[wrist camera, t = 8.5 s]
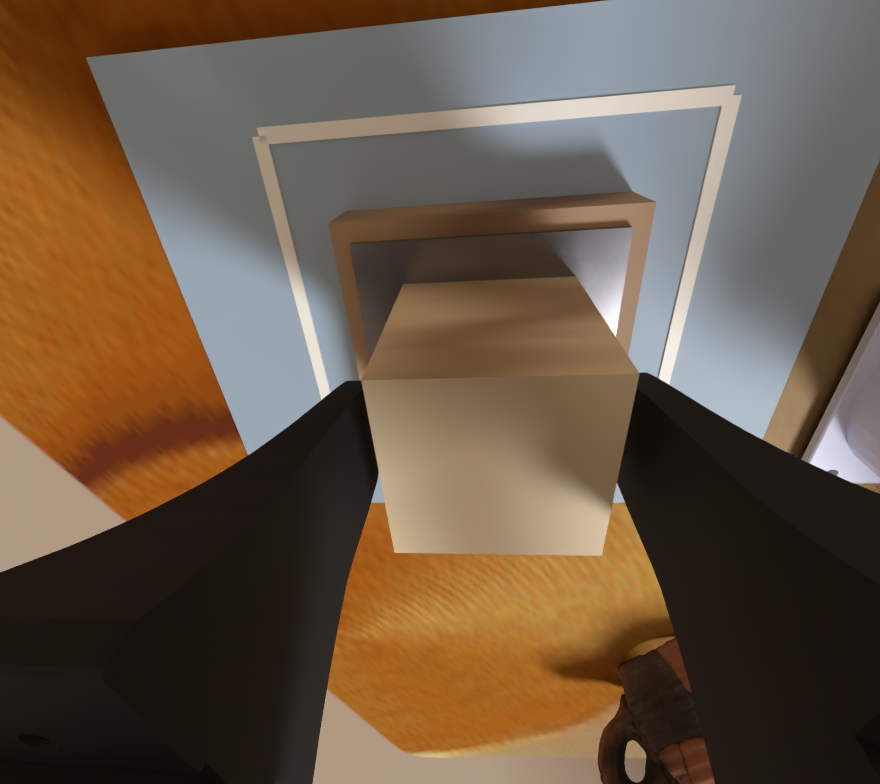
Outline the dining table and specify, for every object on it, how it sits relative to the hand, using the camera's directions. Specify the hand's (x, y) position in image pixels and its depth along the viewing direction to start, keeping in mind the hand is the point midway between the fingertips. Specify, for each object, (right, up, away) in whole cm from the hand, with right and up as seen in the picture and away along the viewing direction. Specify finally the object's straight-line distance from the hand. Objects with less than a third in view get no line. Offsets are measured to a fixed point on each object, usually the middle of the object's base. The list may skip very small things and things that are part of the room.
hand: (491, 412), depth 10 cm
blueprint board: (0, +3, +4) cm, 5 cm away
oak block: (0, +2, +2) cm, 3 cm away
